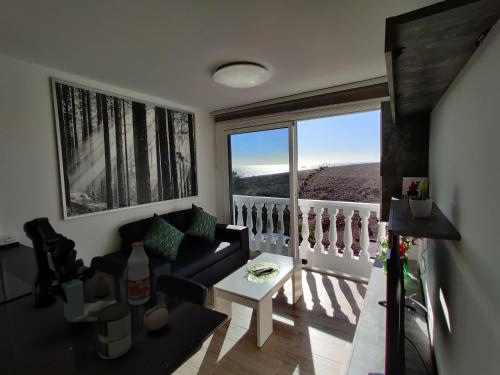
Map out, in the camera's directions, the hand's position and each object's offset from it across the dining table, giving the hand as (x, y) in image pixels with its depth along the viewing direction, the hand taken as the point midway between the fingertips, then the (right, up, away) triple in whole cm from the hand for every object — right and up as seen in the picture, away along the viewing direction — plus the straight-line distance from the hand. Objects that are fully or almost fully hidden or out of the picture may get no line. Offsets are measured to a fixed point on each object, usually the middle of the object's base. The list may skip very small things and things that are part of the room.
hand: (75, 299), depth 95 cm
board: (-2, -12, +14) cm, 19 cm away
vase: (-8, -11, +30) cm, 33 cm away
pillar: (-1, -7, +1) cm, 7 cm away
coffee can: (+19, -14, -6) cm, 25 cm away
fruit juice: (+13, -12, +25) cm, 31 cm away
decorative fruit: (+30, -14, +4) cm, 33 cm away
